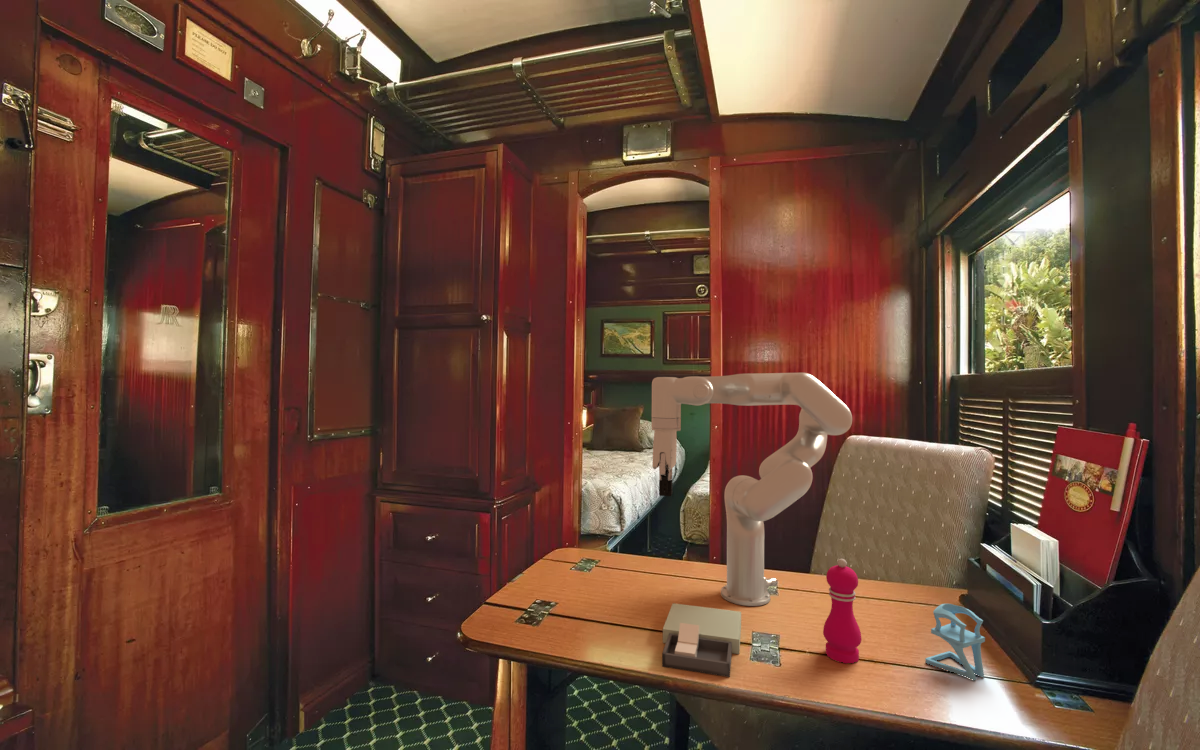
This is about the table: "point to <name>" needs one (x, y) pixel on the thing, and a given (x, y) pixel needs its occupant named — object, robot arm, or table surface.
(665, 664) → the box
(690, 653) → the tile front
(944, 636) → the phone stand
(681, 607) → the beige flat slab
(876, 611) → the table surface
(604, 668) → the table surface
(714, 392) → the robot arm
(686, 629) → the tile rear
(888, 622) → the table surface
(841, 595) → the pepper mill
